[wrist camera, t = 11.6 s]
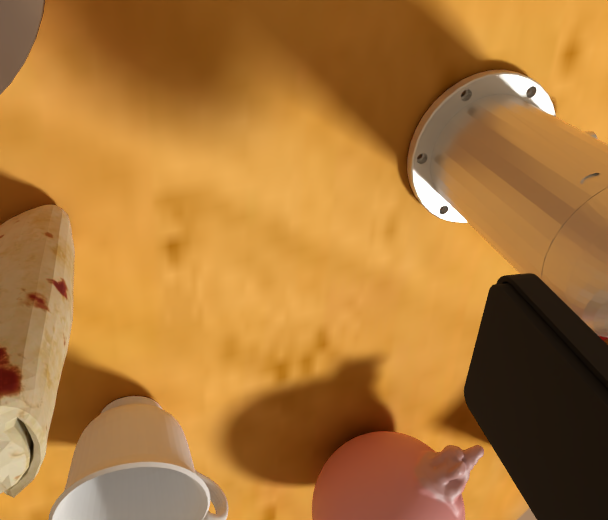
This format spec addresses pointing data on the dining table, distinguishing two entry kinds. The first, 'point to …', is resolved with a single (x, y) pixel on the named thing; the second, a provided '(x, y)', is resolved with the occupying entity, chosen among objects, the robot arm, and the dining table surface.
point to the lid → (17, 35)
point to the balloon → (393, 480)
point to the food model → (32, 335)
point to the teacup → (136, 470)
